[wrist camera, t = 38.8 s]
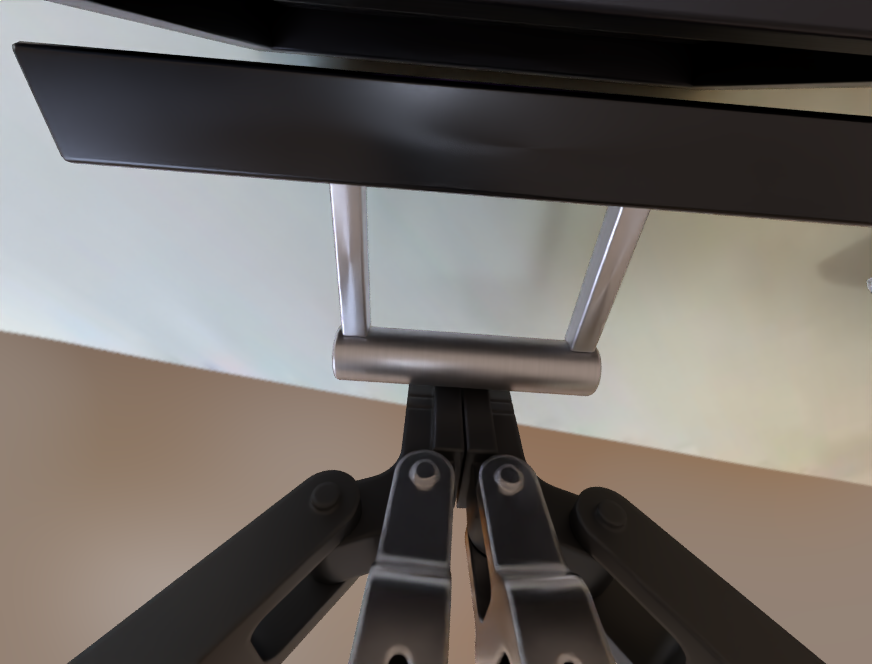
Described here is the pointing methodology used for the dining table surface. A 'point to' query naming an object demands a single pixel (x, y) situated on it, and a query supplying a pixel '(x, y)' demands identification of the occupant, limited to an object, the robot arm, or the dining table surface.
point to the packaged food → (869, 284)
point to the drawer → (455, 170)
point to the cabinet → (553, 37)
